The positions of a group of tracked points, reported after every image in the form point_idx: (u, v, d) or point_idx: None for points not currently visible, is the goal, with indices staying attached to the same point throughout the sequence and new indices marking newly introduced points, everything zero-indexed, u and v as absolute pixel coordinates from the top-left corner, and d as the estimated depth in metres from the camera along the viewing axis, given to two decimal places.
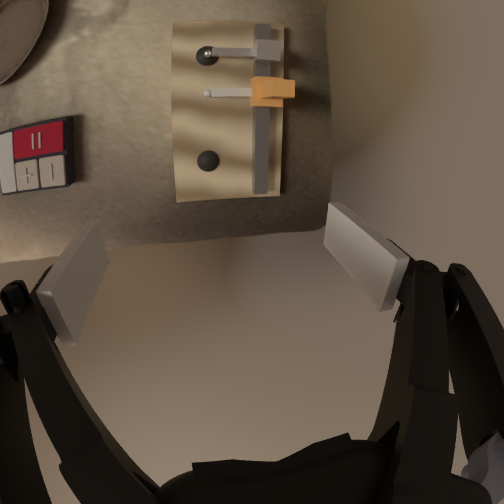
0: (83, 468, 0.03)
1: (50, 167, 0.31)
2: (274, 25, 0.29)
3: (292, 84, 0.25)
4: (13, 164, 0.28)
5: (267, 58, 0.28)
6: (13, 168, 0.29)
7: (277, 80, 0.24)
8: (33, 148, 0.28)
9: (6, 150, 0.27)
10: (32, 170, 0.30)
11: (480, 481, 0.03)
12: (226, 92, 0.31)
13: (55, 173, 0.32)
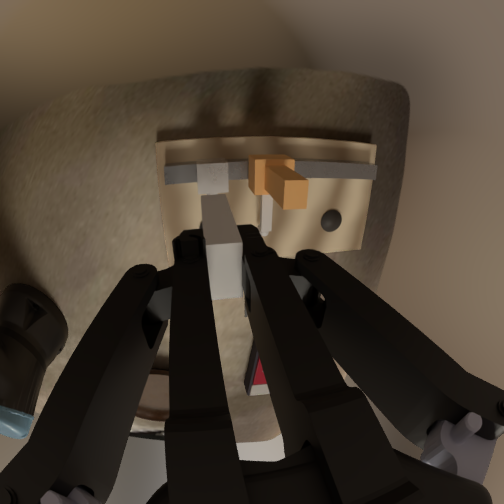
0: (193, 434, 0.04)
1: None
2: (159, 154, 0.28)
3: (291, 183, 0.21)
4: None
5: (226, 179, 0.26)
6: None
7: (285, 203, 0.21)
8: None
9: (265, 388, 0.50)
10: None
11: (454, 473, 0.03)
12: (267, 215, 0.31)
13: None
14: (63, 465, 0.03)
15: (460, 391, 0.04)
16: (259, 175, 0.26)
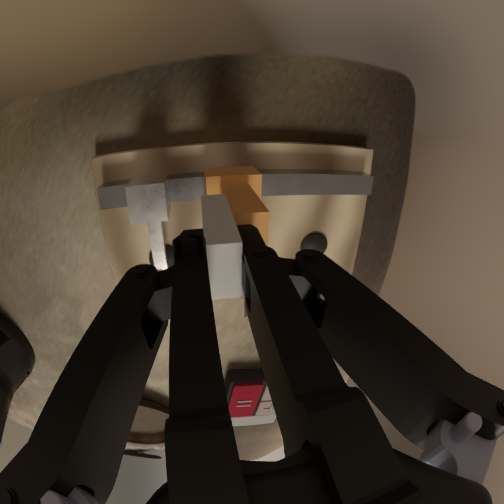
0: (193, 434, 0.04)
1: None
2: (96, 172, 0.21)
3: (241, 218, 0.14)
4: (255, 415, 0.43)
5: (163, 204, 0.19)
6: (258, 415, 0.43)
7: None
8: (250, 405, 0.40)
9: (240, 420, 0.43)
10: (269, 404, 0.42)
11: (454, 473, 0.03)
12: None
13: None
14: (63, 465, 0.03)
15: (460, 391, 0.04)
16: None
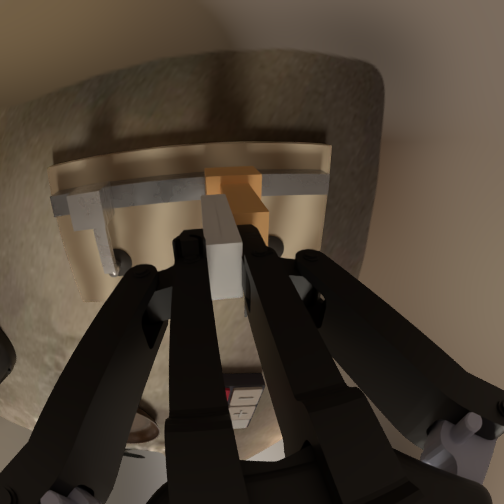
0: (193, 434, 0.04)
1: (242, 398, 0.39)
2: (52, 181, 0.20)
3: (241, 218, 0.14)
4: None
5: (100, 212, 0.18)
6: None
7: None
8: None
9: None
10: (238, 410, 0.41)
11: (454, 473, 0.03)
12: None
13: (249, 395, 0.39)
14: (63, 465, 0.03)
15: (460, 391, 0.04)
16: None
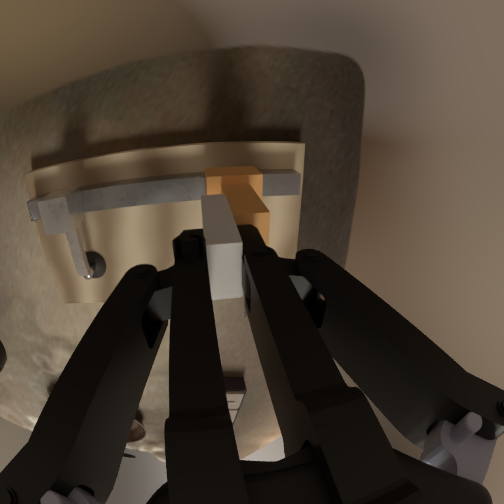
0: (193, 434, 0.04)
1: None
2: (30, 186, 0.20)
3: (241, 219, 0.14)
4: None
5: (68, 216, 0.18)
6: None
7: None
8: None
9: None
10: None
11: (454, 473, 0.03)
12: None
13: (230, 399, 0.39)
14: (63, 465, 0.03)
15: (460, 391, 0.04)
16: None
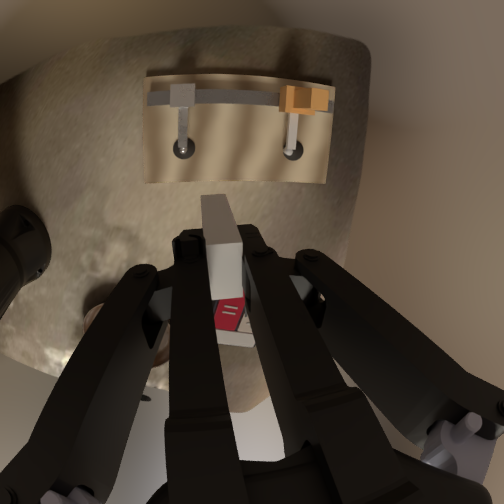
0: (193, 434, 0.04)
1: None
2: (146, 86, 0.31)
3: (316, 90, 0.25)
4: (237, 332, 0.52)
5: (192, 96, 0.28)
6: (240, 333, 0.52)
7: (312, 104, 0.25)
8: (235, 313, 0.49)
9: (222, 336, 0.52)
10: None
11: (454, 473, 0.03)
12: (292, 135, 0.35)
13: None
14: (63, 465, 0.03)
15: (460, 391, 0.04)
16: (289, 97, 0.30)
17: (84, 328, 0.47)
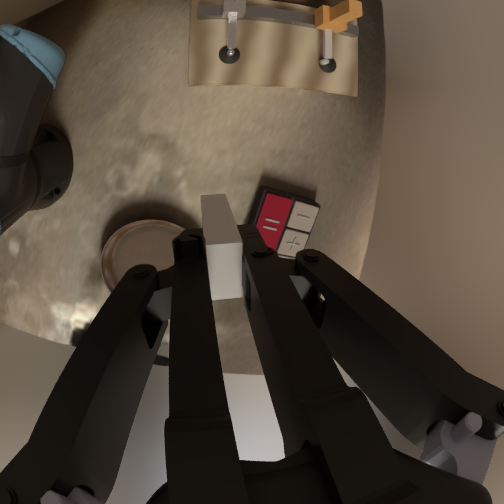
0: (193, 434, 0.04)
1: (300, 216, 0.46)
2: (194, 4, 0.27)
3: (352, 0, 0.21)
4: None
5: (244, 4, 0.25)
6: (279, 256, 0.49)
7: (350, 9, 0.22)
8: (276, 229, 0.46)
9: None
10: (293, 236, 0.48)
11: (454, 473, 0.03)
12: (328, 47, 0.31)
13: (306, 213, 0.46)
14: (63, 465, 0.03)
15: (460, 391, 0.04)
16: (325, 13, 0.27)
17: (102, 263, 0.44)
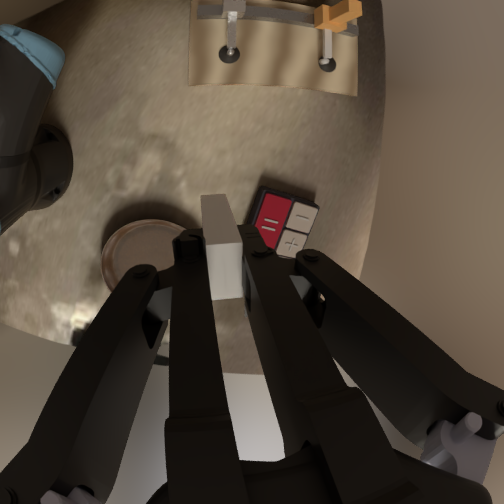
0: (193, 434, 0.04)
1: (299, 217, 0.47)
2: (193, 4, 0.27)
3: (351, 0, 0.21)
4: None
5: (244, 4, 0.25)
6: None
7: (350, 8, 0.22)
8: (275, 229, 0.46)
9: None
10: (291, 237, 0.48)
11: (454, 473, 0.03)
12: (328, 46, 0.31)
13: (305, 214, 0.46)
14: (63, 465, 0.03)
15: (460, 392, 0.04)
16: (325, 12, 0.27)
17: (102, 263, 0.44)
